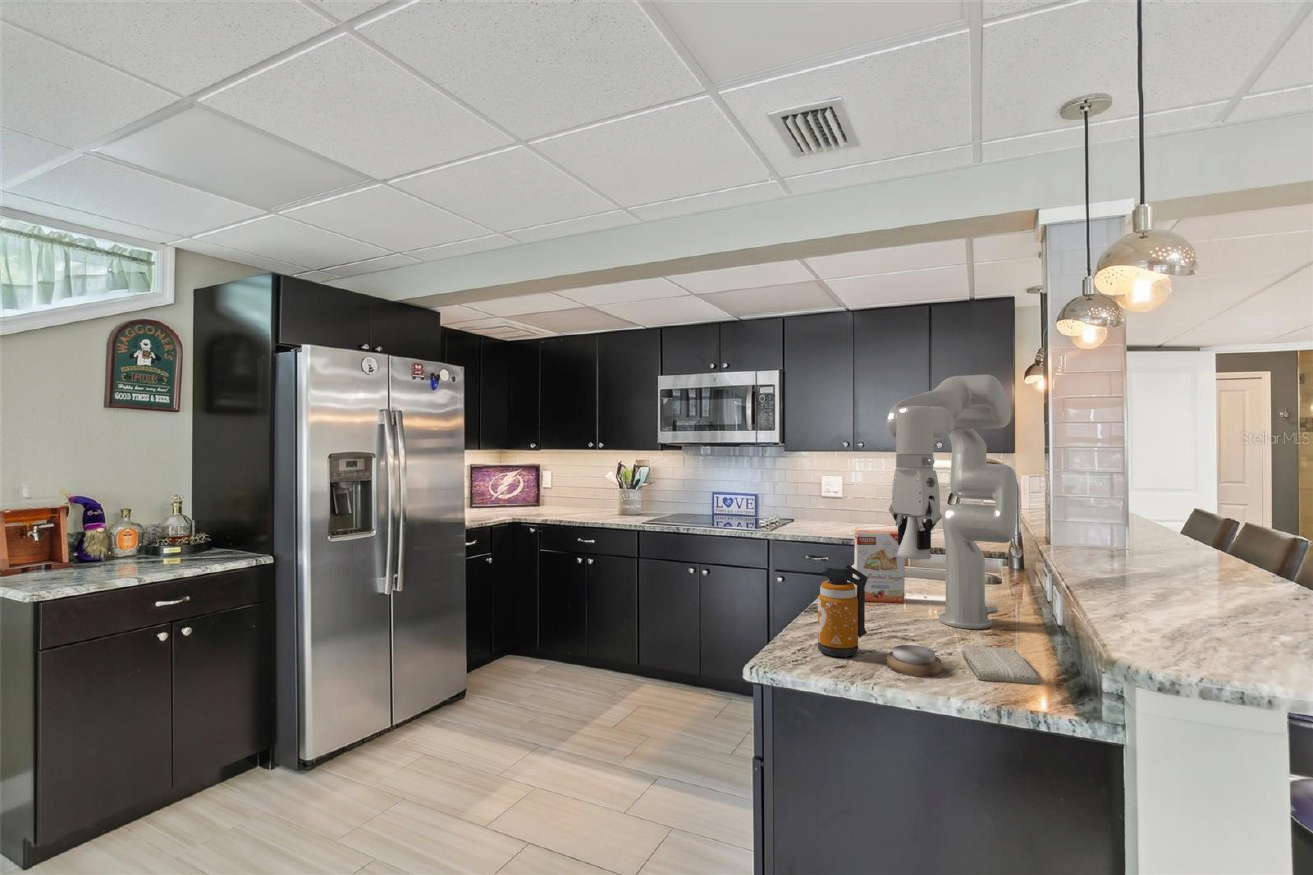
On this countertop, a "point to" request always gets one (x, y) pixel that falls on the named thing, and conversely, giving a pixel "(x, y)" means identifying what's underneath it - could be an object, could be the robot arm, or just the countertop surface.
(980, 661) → the washcloth
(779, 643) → the countertop surface
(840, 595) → the canister
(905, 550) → the flask
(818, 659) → the countertop surface
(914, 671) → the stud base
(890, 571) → the cracker box
